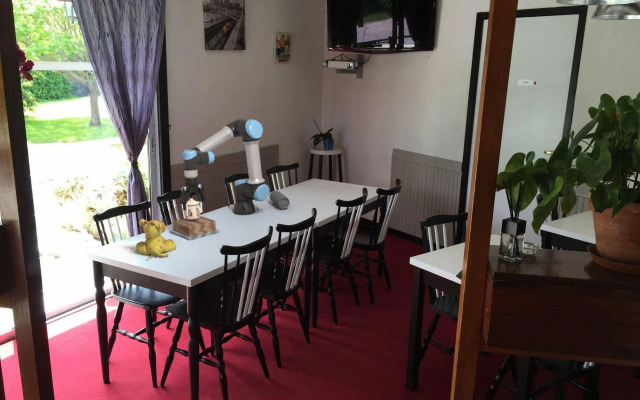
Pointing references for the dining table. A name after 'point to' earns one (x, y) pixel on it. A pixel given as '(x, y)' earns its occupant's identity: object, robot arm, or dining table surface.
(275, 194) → the bluetooth speaker
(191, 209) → the teacup with lid
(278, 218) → the dining table surface
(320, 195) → the dining table surface
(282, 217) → the dining table surface
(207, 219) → the plinth
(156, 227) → the giraffe plush
